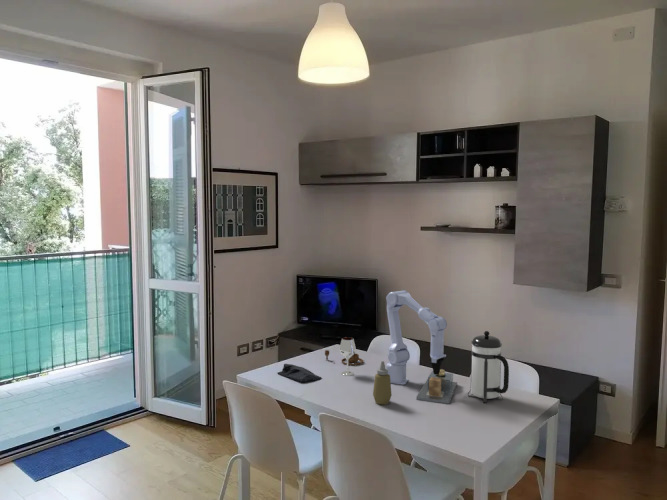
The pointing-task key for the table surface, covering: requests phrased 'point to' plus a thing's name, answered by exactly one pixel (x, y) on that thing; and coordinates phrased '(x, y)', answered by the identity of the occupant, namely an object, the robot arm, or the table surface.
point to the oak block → (435, 386)
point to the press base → (446, 389)
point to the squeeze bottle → (382, 386)
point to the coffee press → (487, 367)
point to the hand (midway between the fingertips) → (436, 374)
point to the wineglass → (347, 351)
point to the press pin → (441, 373)
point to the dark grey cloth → (298, 373)
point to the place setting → (351, 360)
